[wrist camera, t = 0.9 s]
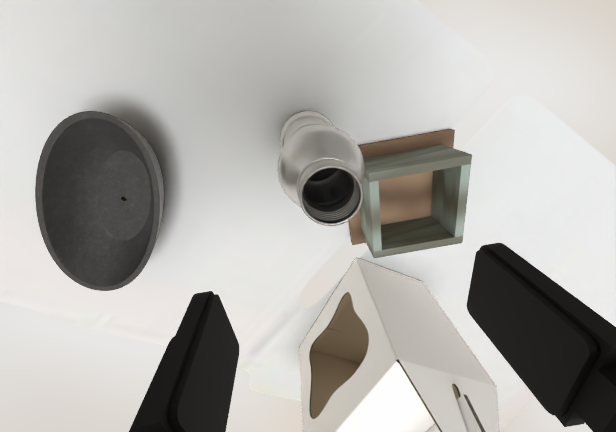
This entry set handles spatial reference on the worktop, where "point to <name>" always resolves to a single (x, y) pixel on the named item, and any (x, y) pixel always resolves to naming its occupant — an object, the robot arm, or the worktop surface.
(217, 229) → the worktop surface
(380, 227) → the bottle holder
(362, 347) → the gable box
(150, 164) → the bowl
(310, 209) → the silver bottle
